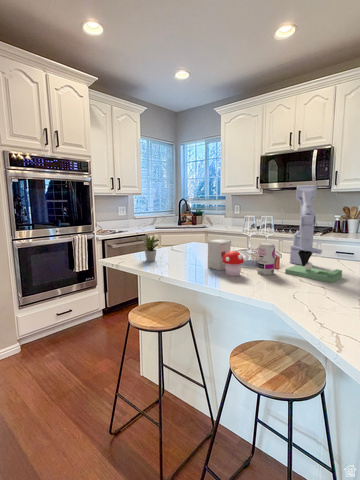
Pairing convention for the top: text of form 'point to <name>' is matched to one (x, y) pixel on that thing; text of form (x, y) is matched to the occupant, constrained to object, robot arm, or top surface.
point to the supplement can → (266, 258)
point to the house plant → (150, 248)
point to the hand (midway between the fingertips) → (304, 266)
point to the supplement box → (217, 253)
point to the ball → (308, 267)
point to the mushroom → (233, 263)
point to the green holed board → (315, 273)
